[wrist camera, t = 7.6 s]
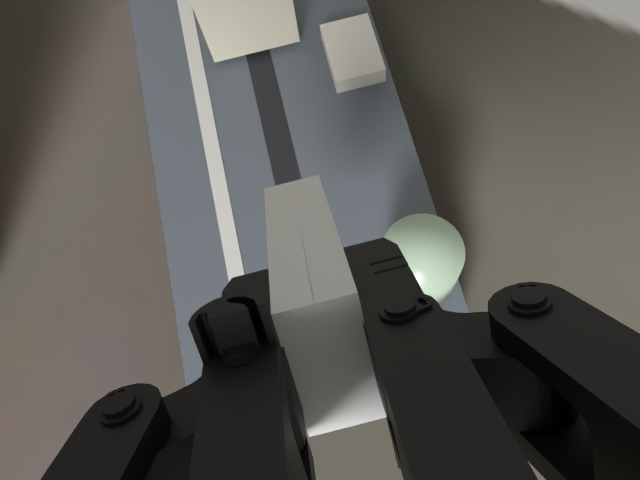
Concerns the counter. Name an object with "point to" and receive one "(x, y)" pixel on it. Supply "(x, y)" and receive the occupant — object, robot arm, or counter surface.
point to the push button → (430, 252)
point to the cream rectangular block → (245, 25)
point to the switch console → (269, 142)
